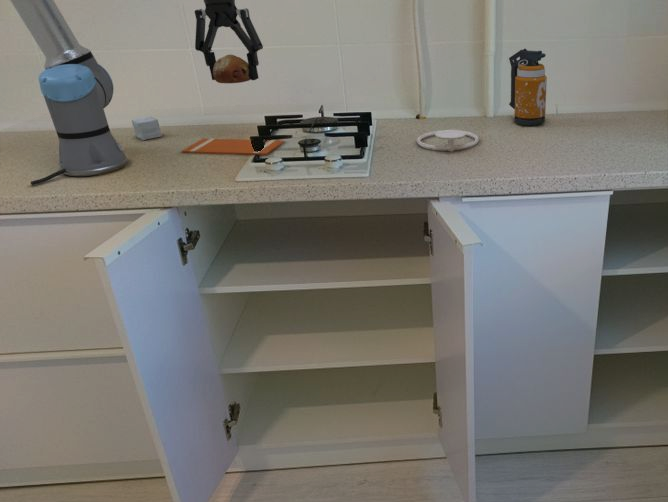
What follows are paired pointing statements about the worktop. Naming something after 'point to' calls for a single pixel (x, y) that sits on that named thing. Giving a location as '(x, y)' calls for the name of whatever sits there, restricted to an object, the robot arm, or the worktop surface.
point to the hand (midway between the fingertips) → (235, 79)
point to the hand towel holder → (449, 136)
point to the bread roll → (231, 70)
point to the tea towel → (231, 147)
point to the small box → (146, 128)
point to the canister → (528, 87)
